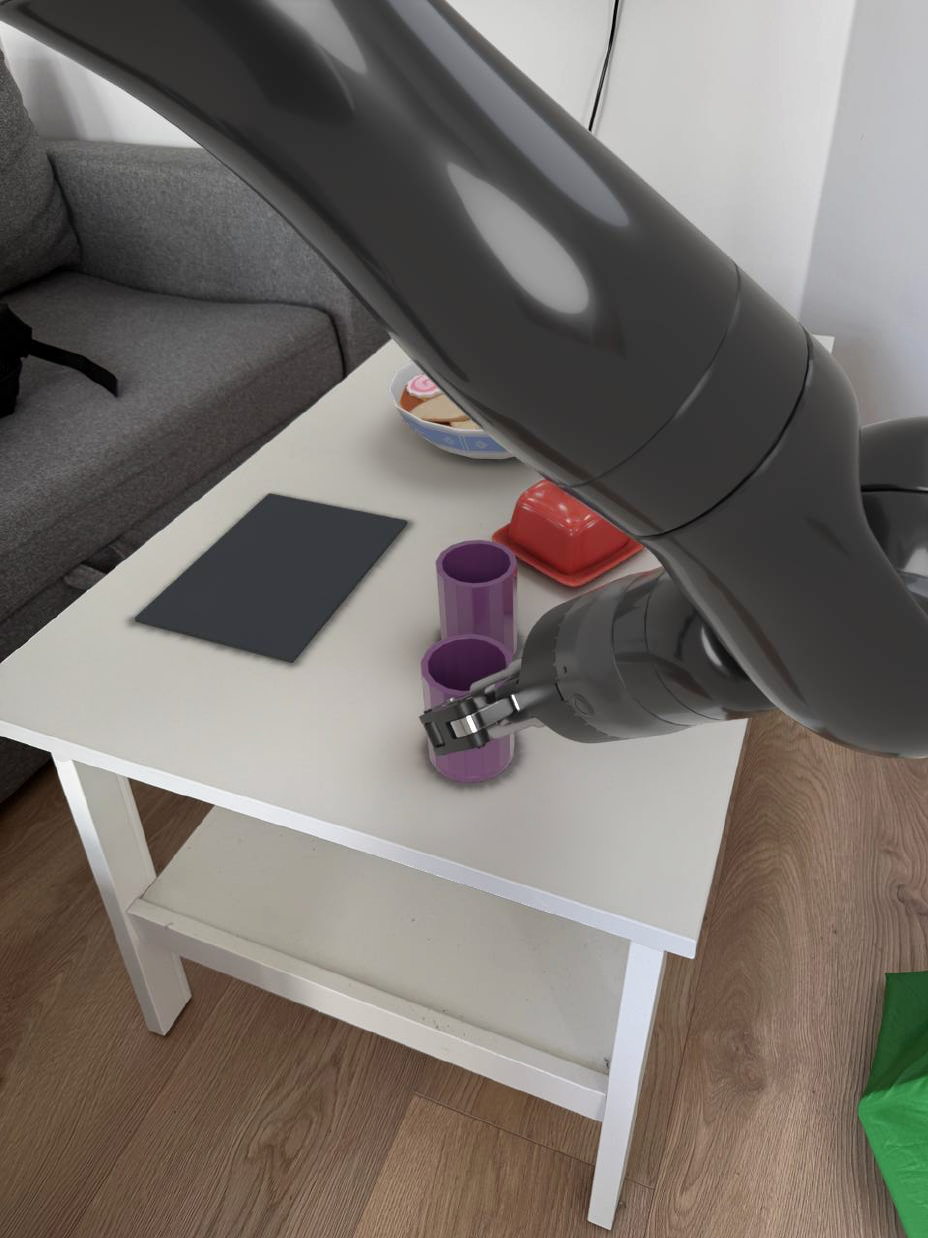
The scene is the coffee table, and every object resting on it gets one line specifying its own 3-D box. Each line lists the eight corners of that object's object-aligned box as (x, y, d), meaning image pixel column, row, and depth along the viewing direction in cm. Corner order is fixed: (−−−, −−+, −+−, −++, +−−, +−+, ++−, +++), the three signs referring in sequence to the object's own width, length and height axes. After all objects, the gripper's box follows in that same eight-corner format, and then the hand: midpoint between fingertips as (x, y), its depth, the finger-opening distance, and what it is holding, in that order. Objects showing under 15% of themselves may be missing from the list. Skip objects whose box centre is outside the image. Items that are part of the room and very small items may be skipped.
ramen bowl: (436, 385, 115) (432, 322, 110) (617, 405, 109) (621, 338, 104) (357, 485, 97) (347, 414, 92) (568, 515, 91) (571, 440, 85)
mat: (292, 662, 75) (291, 659, 75) (135, 621, 80) (134, 617, 80) (407, 523, 91) (407, 520, 90) (269, 496, 96) (269, 492, 95)
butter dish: (657, 549, 85) (666, 469, 80) (572, 602, 80) (576, 519, 74) (568, 503, 92) (571, 426, 87) (484, 548, 87) (481, 470, 81)
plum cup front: (452, 795, 63) (446, 707, 58) (415, 738, 68) (405, 652, 62) (529, 762, 66) (530, 675, 60) (488, 709, 70) (485, 623, 65)
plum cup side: (463, 680, 73) (458, 596, 67) (429, 637, 77) (422, 554, 72) (530, 655, 75) (531, 570, 69) (494, 614, 79) (492, 531, 74)
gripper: (706, 539, 47) (563, 603, 62) (471, 643, 41) (377, 685, 56) (767, 674, 46) (609, 705, 61) (539, 796, 41) (426, 798, 56)
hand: (498, 695), depth 59 cm, fingers open, 8 cm apart
